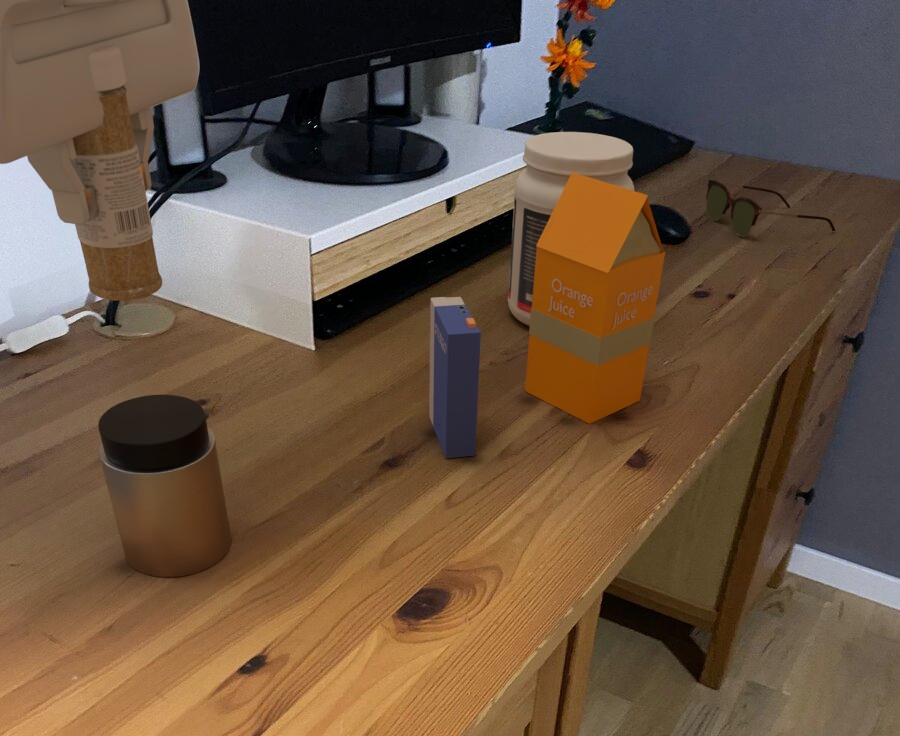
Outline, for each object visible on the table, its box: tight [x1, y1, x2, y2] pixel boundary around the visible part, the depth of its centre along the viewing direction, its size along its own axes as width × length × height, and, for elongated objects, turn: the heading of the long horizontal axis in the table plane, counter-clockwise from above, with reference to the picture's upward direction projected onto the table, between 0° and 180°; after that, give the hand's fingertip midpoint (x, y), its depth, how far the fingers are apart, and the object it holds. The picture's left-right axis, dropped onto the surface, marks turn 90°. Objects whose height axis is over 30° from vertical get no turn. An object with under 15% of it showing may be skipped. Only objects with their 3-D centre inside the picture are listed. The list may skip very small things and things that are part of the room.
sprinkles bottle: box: [70, 46, 163, 302], centre depth 53 cm, size 5×5×13 cm
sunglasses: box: [705, 179, 836, 238], centre depth 133 cm, size 14×15×5 cm
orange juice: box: [524, 172, 666, 425], centre depth 84 cm, size 8×9×20 cm
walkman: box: [428, 296, 482, 459], centre depth 80 cm, size 8×3×12 cm, turn 12°
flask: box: [97, 394, 232, 578], centre depth 67 cm, size 8×8×11 cm
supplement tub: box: [507, 131, 636, 327], centre depth 100 cm, size 13×13×18 cm
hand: (107, 206), depth 54 cm, fingers closed on sprinkles bottle, 4 cm apart
